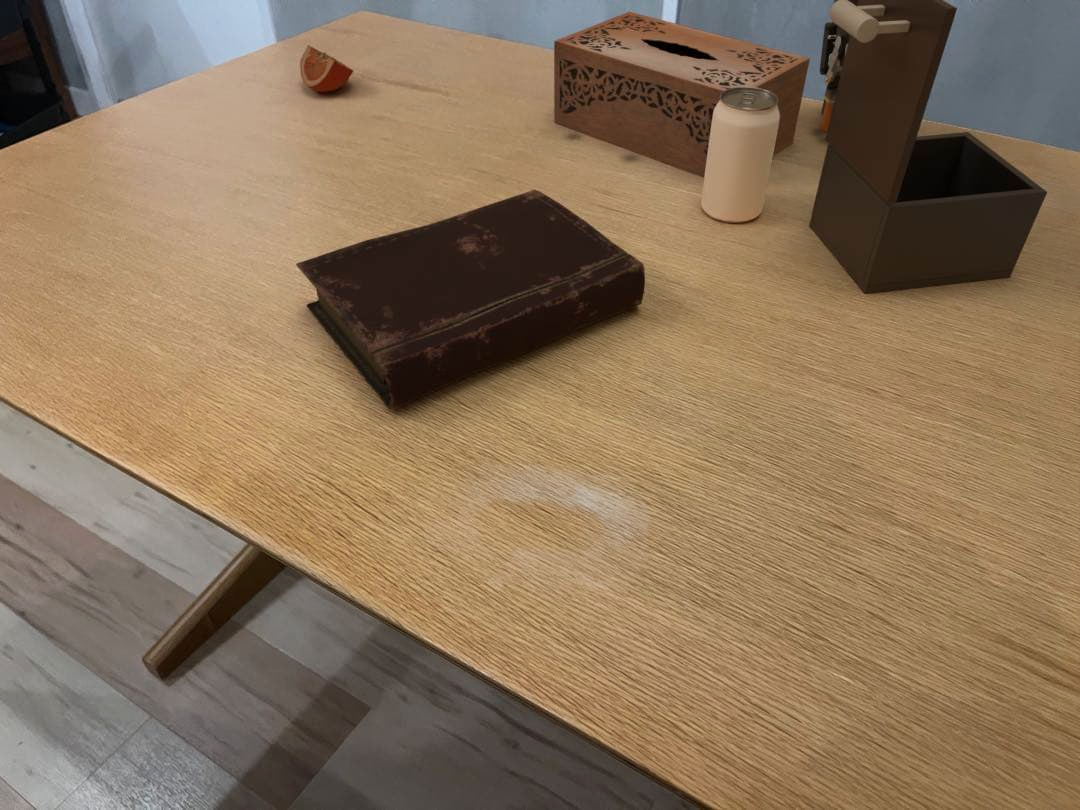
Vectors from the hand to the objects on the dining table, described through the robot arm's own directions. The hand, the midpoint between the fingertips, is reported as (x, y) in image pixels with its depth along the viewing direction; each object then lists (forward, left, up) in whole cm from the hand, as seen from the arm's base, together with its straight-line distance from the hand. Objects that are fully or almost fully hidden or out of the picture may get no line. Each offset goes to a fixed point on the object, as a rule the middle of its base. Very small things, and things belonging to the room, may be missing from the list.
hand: (839, 124), depth 102 cm
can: (+20, +17, -1) cm, 26 cm away
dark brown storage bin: (+6, +28, 0) cm, 29 cm away
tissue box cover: (+21, -3, -1) cm, 21 cm away
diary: (+49, +30, -1) cm, 57 cm away
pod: (0, 0, 0) cm, 0 cm away
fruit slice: (+63, -26, -1) cm, 68 cm away
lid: (+13, +28, +16) cm, 35 cm away
